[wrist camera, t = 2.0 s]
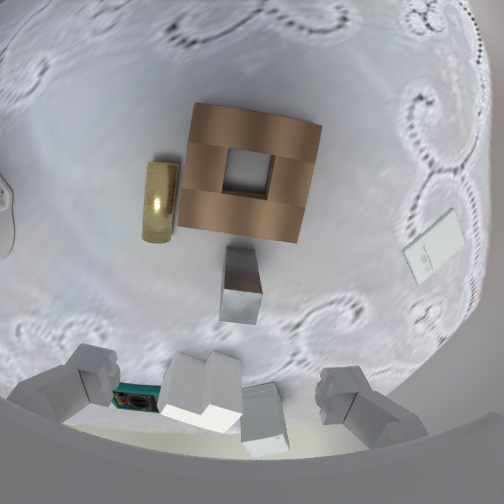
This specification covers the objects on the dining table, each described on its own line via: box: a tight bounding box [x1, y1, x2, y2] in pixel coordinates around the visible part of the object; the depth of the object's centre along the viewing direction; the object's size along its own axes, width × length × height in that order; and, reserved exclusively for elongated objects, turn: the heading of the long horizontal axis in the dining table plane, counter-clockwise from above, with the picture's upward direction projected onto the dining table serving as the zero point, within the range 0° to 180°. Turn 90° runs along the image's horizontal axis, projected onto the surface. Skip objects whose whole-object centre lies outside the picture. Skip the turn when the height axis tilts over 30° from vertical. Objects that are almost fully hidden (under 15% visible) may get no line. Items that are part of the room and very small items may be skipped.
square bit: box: [219, 246, 263, 325], centre depth 35 cm, size 4×4×12 cm
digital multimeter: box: [111, 383, 161, 413], centre depth 50 cm, size 7×15×3 cm, turn 90°
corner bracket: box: [157, 351, 243, 433], centre depth 43 cm, size 11×11×12 cm
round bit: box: [142, 161, 179, 243], centre depth 35 cm, size 10×4×4 cm, turn 170°
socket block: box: [177, 103, 322, 244], centre depth 34 cm, size 15×15×4 cm
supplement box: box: [240, 382, 290, 458], centre depth 47 cm, size 7×7×13 cm
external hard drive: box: [402, 208, 465, 285], centre depth 42 cm, size 2×8×12 cm
